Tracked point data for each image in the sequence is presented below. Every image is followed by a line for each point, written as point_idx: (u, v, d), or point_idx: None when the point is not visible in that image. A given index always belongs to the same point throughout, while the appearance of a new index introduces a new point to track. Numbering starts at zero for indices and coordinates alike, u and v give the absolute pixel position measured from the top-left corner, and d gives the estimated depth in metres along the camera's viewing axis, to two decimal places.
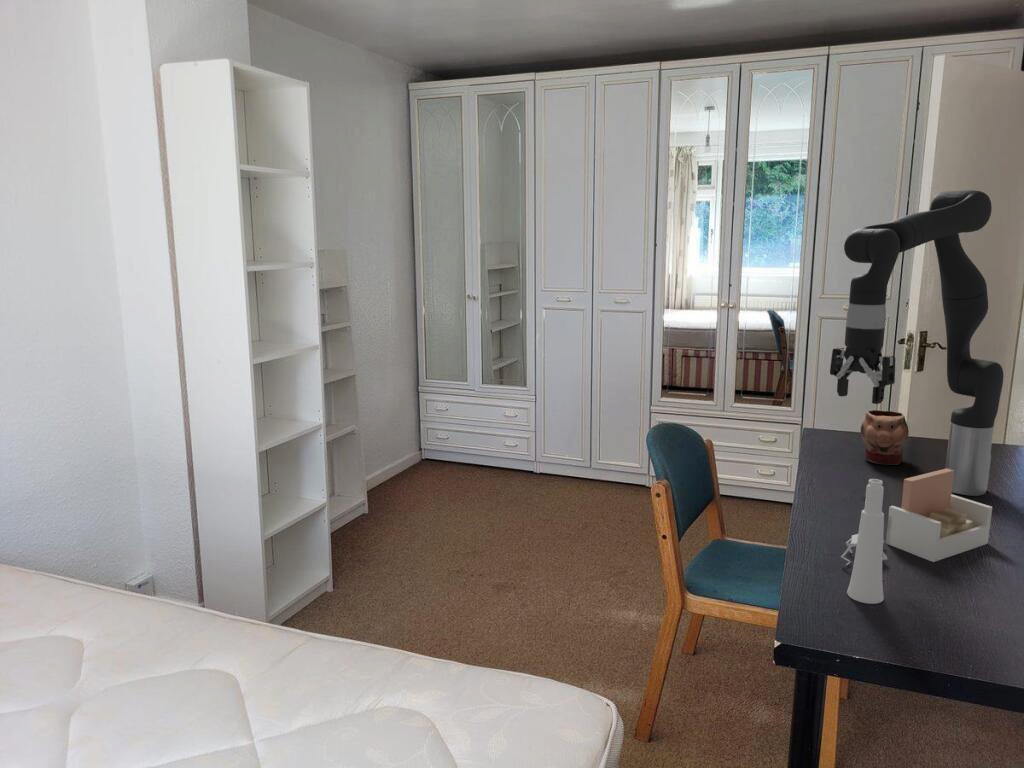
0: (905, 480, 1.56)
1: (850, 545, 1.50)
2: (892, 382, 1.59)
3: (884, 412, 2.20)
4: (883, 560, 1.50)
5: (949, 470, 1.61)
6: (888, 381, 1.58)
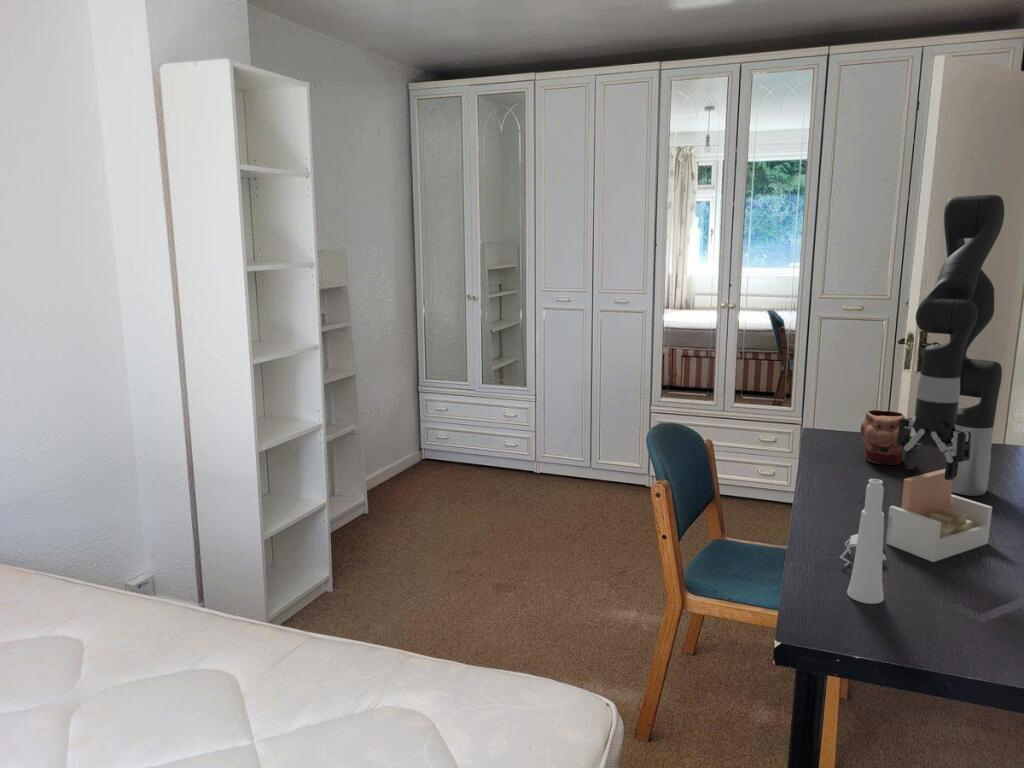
0: (905, 480, 1.56)
1: (849, 545, 1.50)
2: (967, 458, 1.52)
3: (884, 412, 2.20)
4: (882, 560, 1.50)
5: None
6: (963, 458, 1.51)
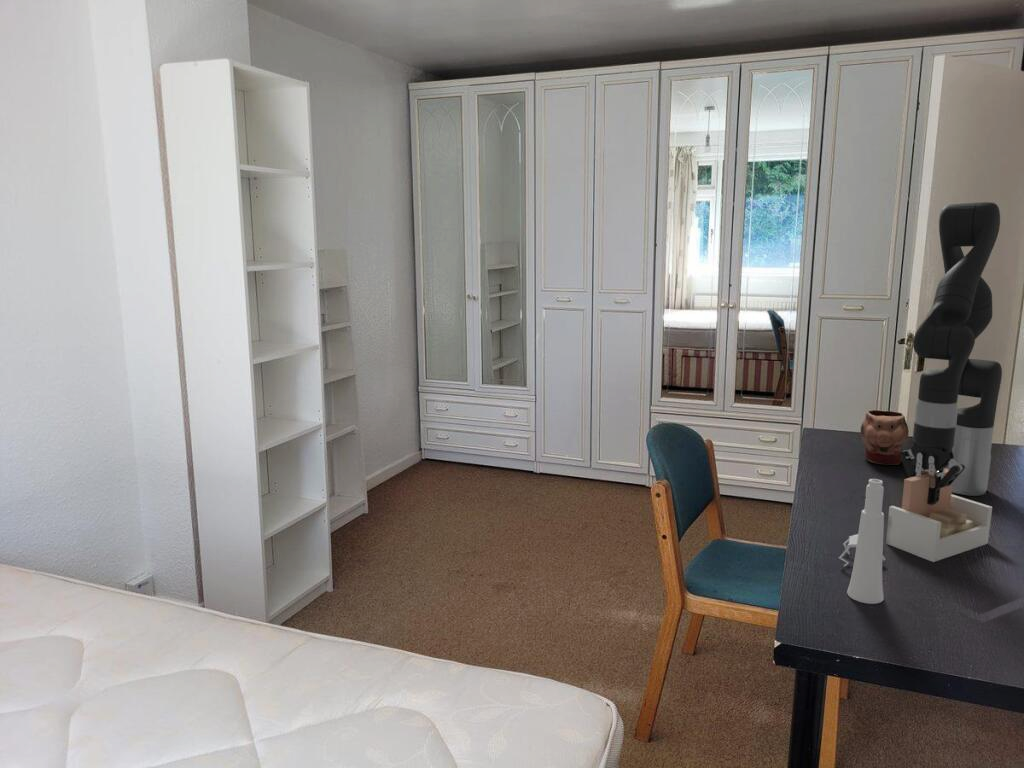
0: (905, 480, 1.56)
1: (848, 546, 1.50)
2: (948, 485, 1.56)
3: (884, 412, 2.20)
4: None
5: None
6: None
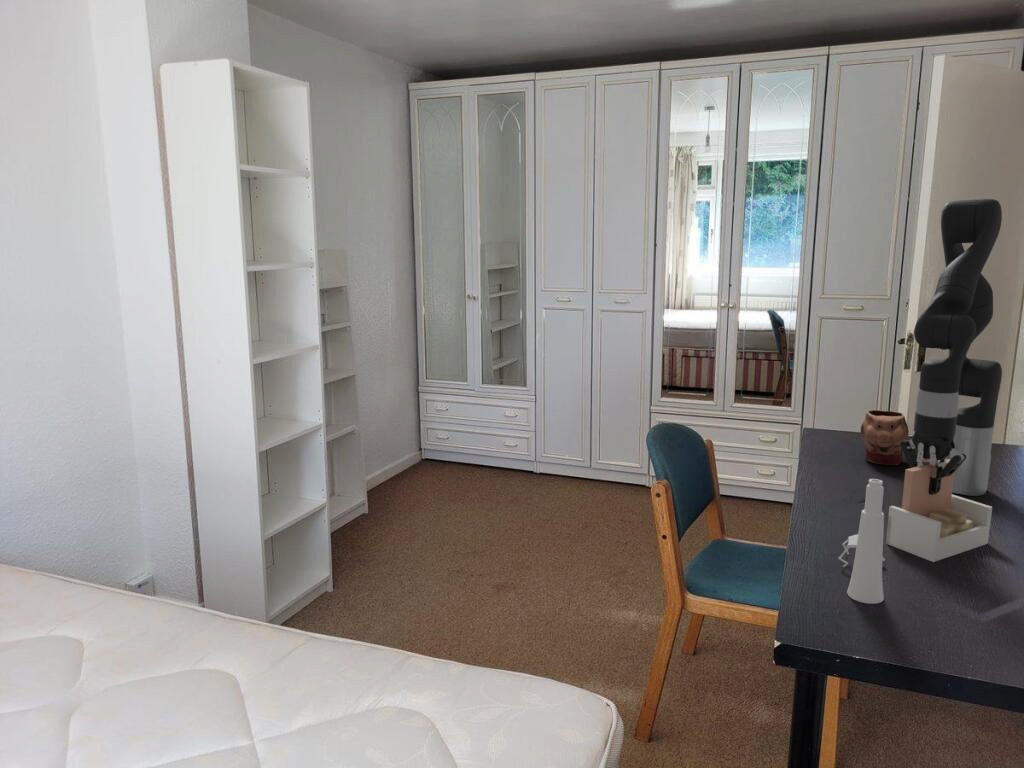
0: (906, 470, 1.56)
1: (847, 547, 1.50)
2: (949, 475, 1.56)
3: (884, 412, 2.20)
4: None
5: None
6: None
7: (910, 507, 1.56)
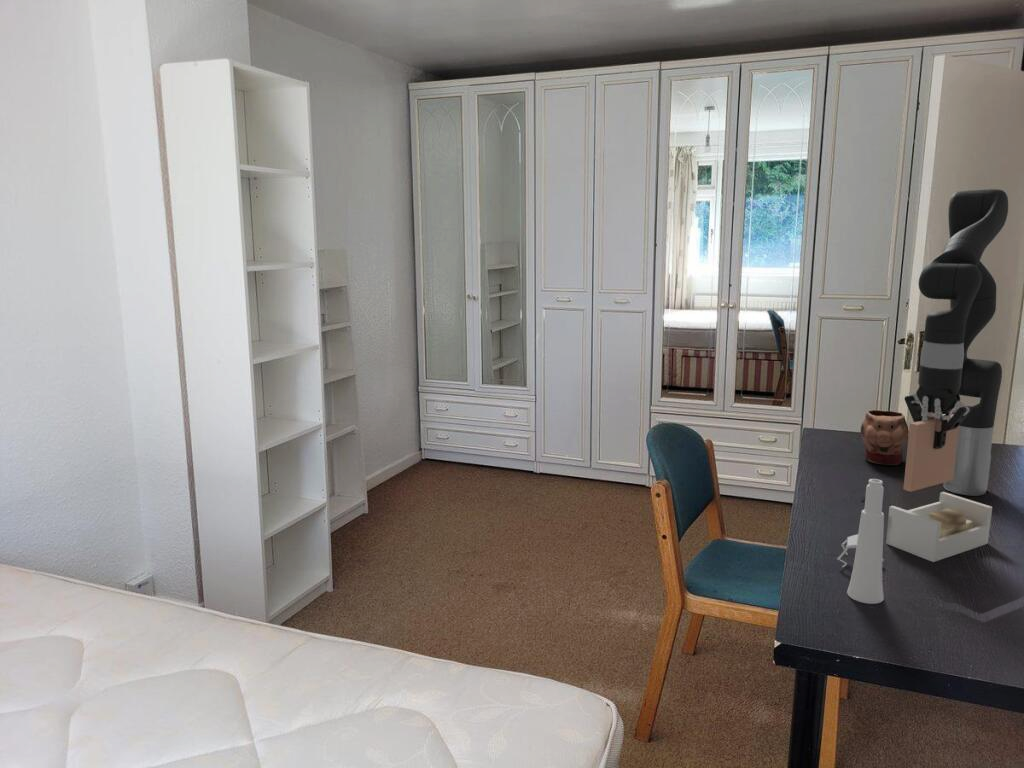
0: (911, 424, 1.54)
1: (847, 547, 1.49)
2: (954, 428, 1.54)
3: (884, 412, 2.20)
4: None
5: None
6: None
7: (915, 461, 1.54)
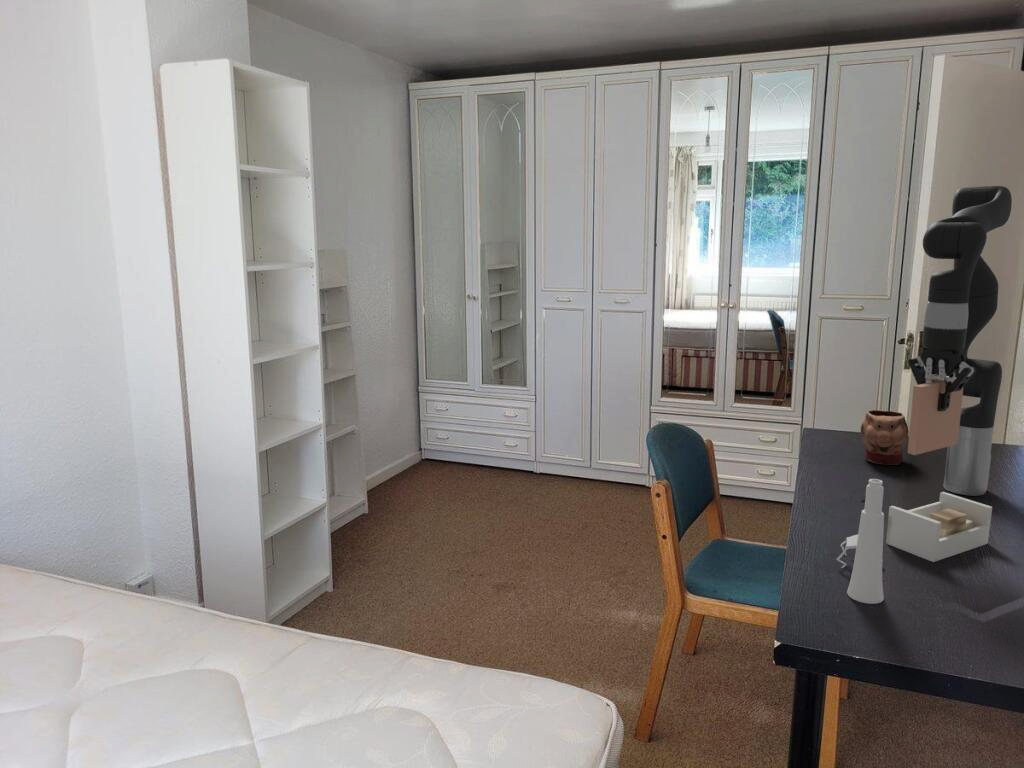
0: (914, 387, 1.52)
1: (846, 548, 1.49)
2: (958, 390, 1.52)
3: (884, 412, 2.20)
4: None
5: None
6: None
7: (919, 424, 1.53)
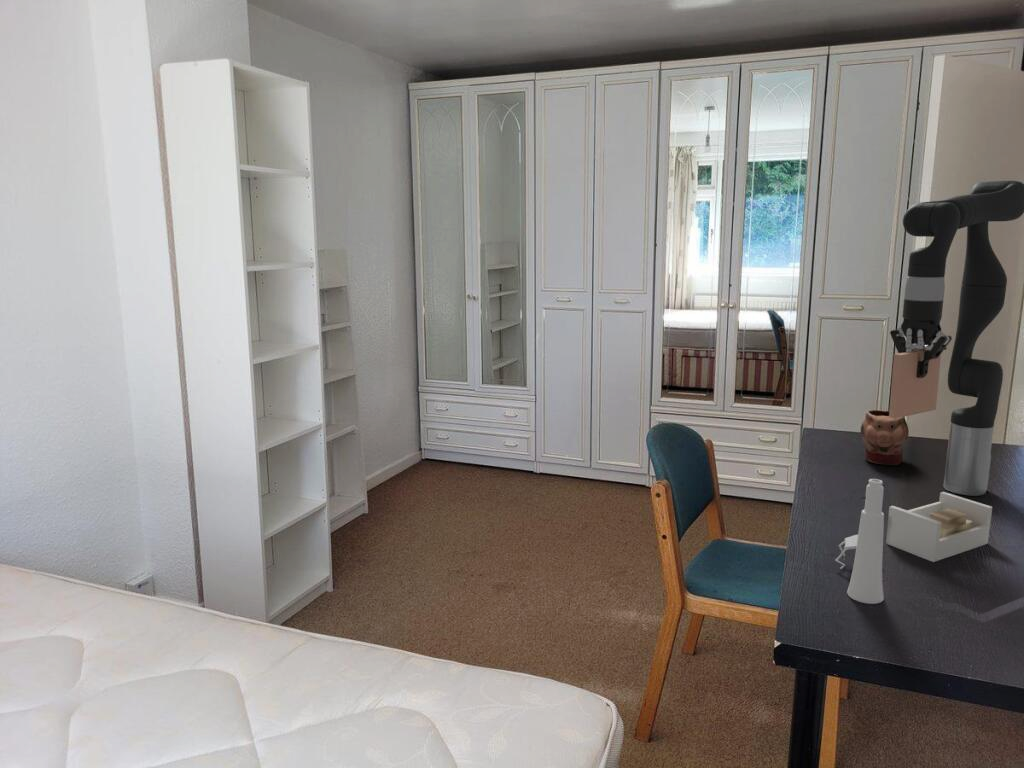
0: (895, 355, 1.65)
1: (845, 548, 1.49)
2: (935, 357, 1.65)
3: (884, 412, 2.20)
4: None
5: None
6: None
7: (899, 390, 1.66)
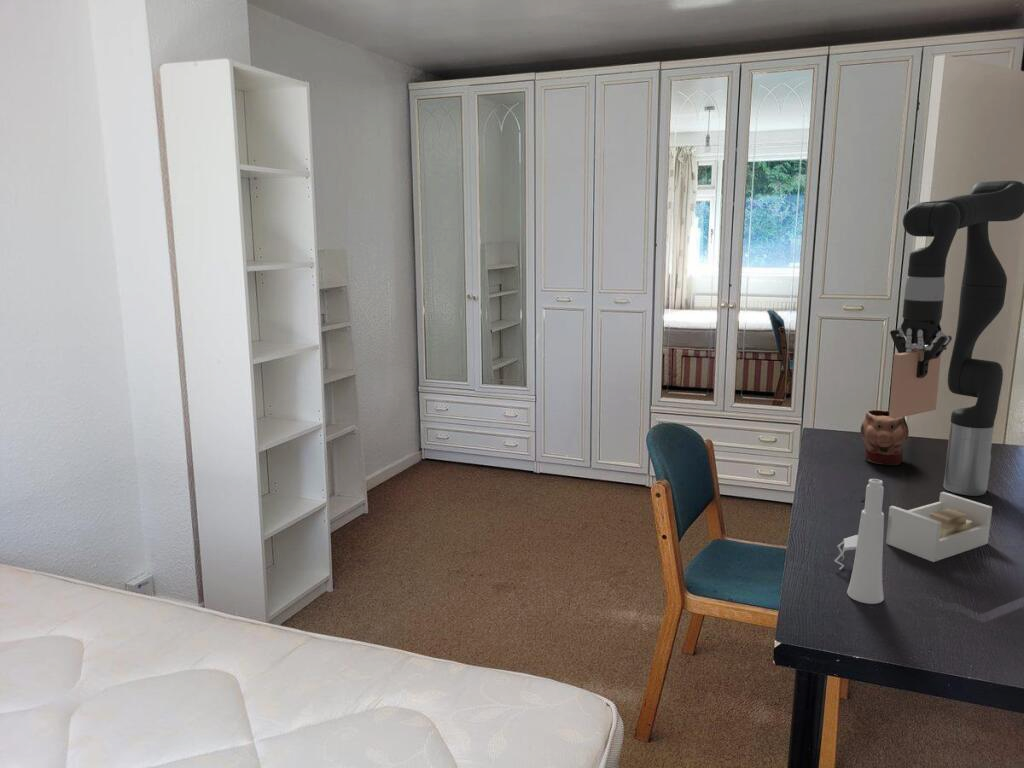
0: (895, 355, 1.65)
1: (844, 549, 1.49)
2: (935, 357, 1.65)
3: (884, 412, 2.20)
4: None
5: None
6: None
7: (899, 390, 1.66)
